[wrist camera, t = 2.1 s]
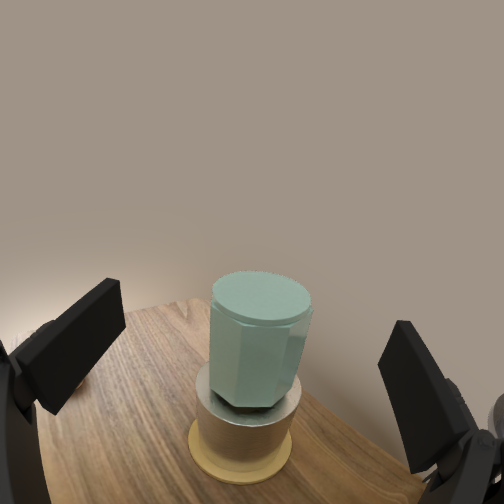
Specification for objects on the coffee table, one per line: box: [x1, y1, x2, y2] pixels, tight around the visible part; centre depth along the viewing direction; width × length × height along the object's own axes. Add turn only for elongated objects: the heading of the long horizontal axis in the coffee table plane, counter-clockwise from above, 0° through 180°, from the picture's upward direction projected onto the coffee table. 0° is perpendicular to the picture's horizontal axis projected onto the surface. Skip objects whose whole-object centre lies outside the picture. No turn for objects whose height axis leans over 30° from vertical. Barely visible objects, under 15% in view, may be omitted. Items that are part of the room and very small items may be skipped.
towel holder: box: [188, 361, 301, 485], centre depth 26 cm, size 14×14×24 cm
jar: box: [209, 271, 313, 407], centre depth 23 cm, size 8×8×10 cm
